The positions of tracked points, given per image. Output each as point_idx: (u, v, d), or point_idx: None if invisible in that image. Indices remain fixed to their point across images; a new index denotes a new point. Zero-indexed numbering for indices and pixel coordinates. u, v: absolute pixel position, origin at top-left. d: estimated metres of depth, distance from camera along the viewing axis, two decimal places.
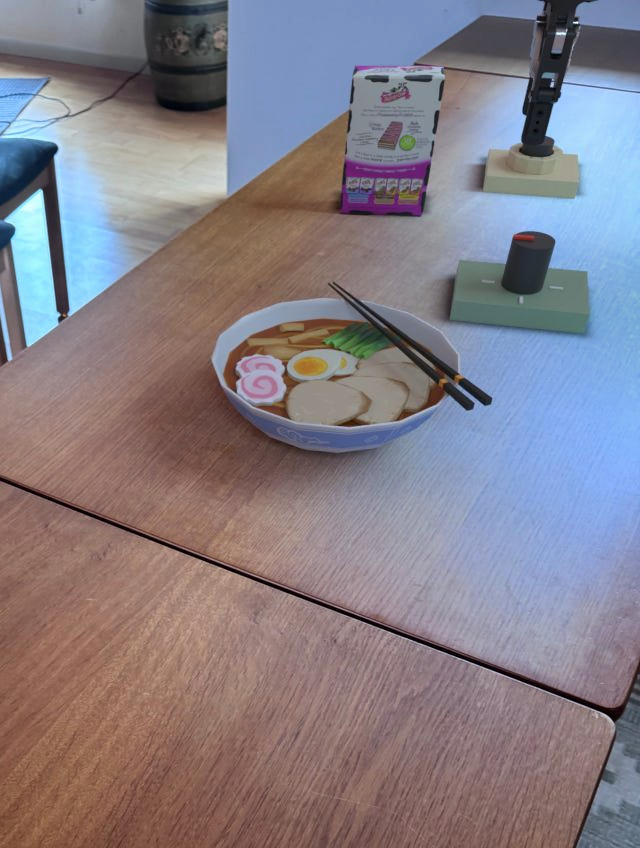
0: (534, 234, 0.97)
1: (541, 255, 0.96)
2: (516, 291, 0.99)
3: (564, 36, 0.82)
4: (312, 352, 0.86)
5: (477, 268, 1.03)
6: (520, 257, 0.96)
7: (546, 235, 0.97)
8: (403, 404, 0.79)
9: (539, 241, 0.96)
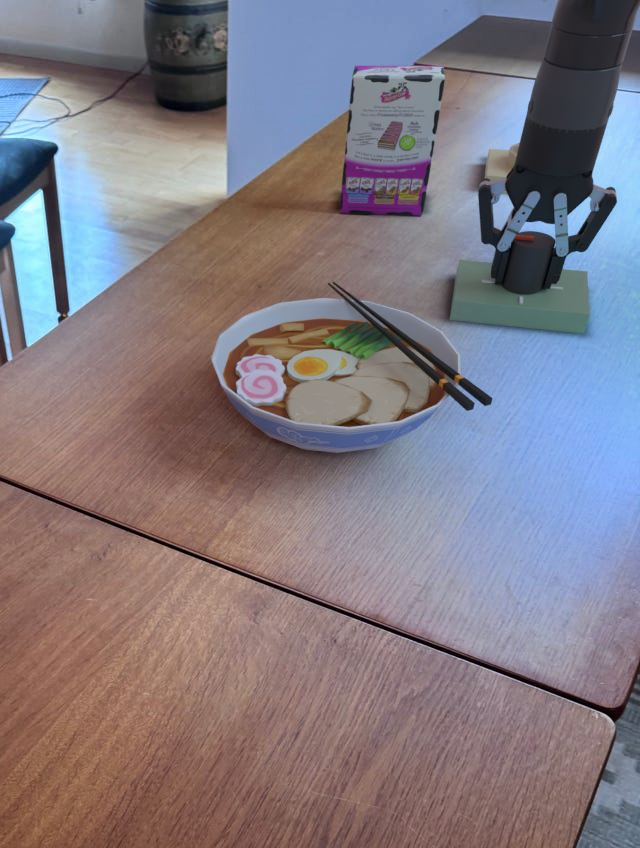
0: (534, 234, 0.97)
1: (541, 255, 0.96)
2: (516, 291, 0.99)
3: None
4: (312, 352, 0.86)
5: (477, 268, 1.03)
6: (520, 257, 0.96)
7: (546, 235, 0.97)
8: (403, 404, 0.79)
9: (539, 241, 0.96)
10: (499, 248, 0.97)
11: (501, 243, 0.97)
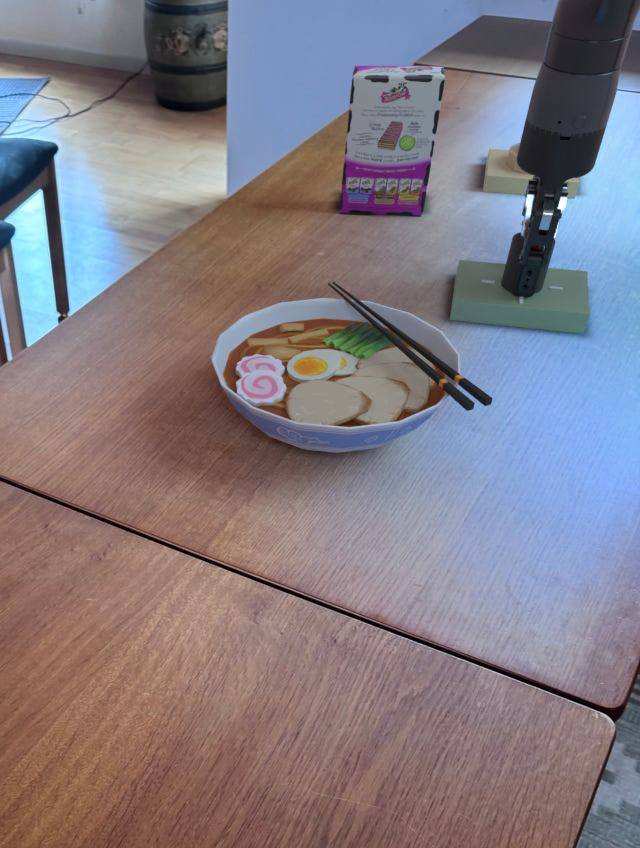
0: (520, 238, 0.97)
1: None
2: (542, 286, 0.99)
3: None
4: (312, 352, 0.86)
5: (477, 268, 1.03)
6: (550, 256, 0.96)
7: (520, 233, 0.98)
8: (403, 404, 0.79)
9: None
10: None
11: None
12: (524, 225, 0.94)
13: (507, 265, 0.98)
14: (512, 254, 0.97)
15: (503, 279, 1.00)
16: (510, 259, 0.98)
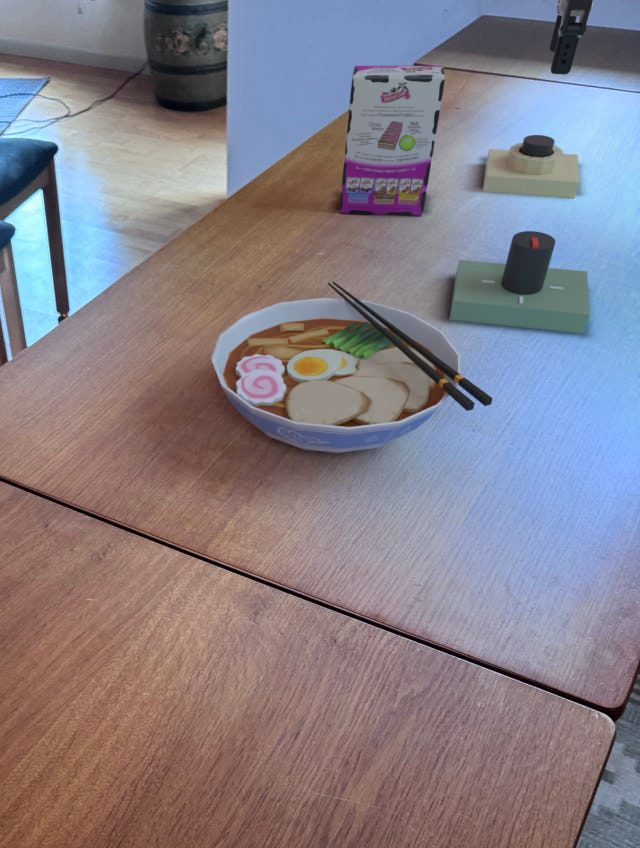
0: (520, 238, 0.97)
1: None
2: (542, 286, 0.99)
3: None
4: (312, 352, 0.86)
5: (477, 268, 1.03)
6: (550, 256, 0.96)
7: (520, 233, 0.98)
8: (403, 404, 0.79)
9: (536, 237, 0.97)
10: None
11: None
12: None
13: (507, 265, 0.98)
14: (512, 254, 0.97)
15: (503, 279, 1.00)
16: (510, 259, 0.98)
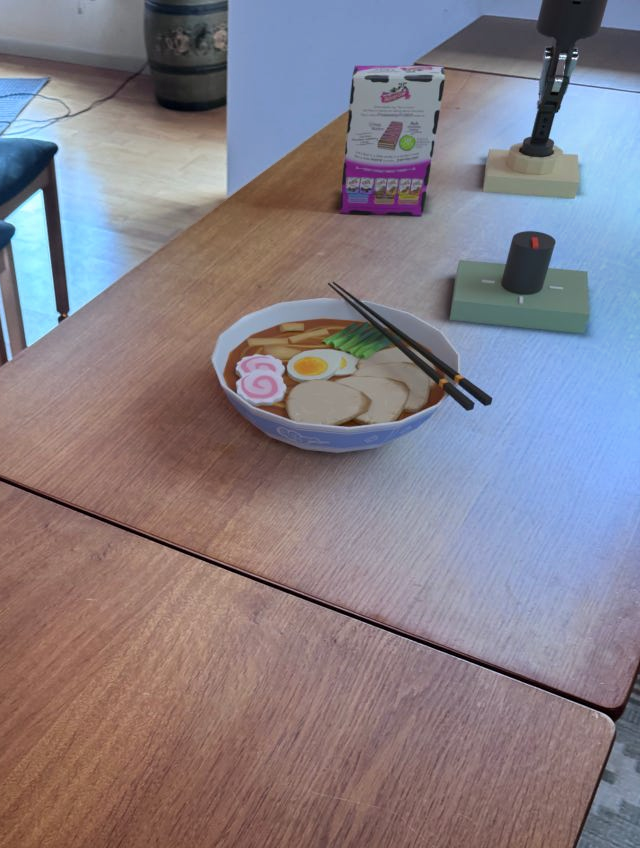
0: (520, 238, 0.97)
1: None
2: (542, 286, 0.99)
3: None
4: (312, 352, 0.86)
5: (477, 268, 1.03)
6: (550, 256, 0.96)
7: (520, 233, 0.98)
8: (403, 404, 0.79)
9: (536, 237, 0.97)
10: None
11: None
12: (541, 84, 1.17)
13: (507, 265, 0.98)
14: (512, 254, 0.97)
15: (503, 279, 1.00)
16: (510, 259, 0.98)
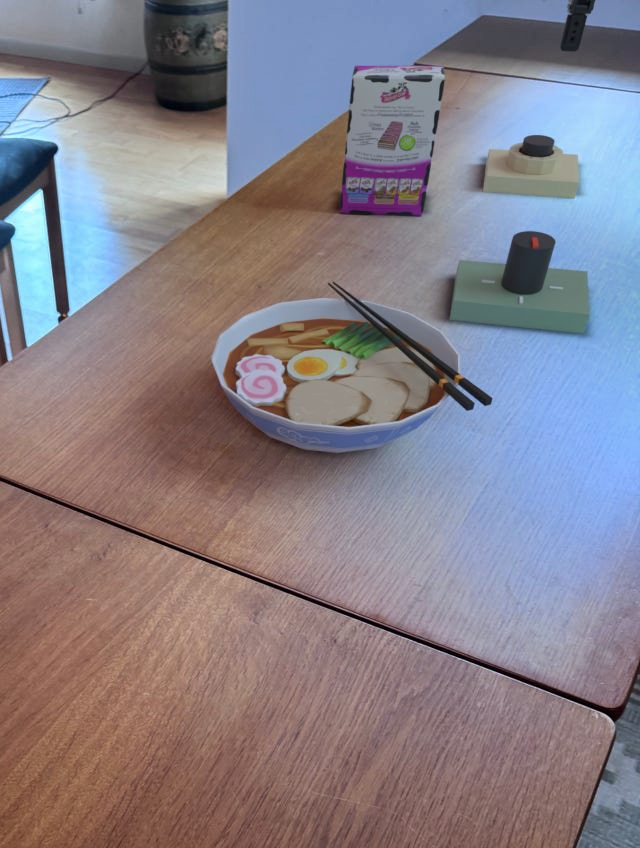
0: (520, 238, 0.97)
1: None
2: (542, 286, 0.99)
3: None
4: (312, 352, 0.86)
5: (477, 268, 1.03)
6: (550, 256, 0.96)
7: (520, 233, 0.98)
8: (403, 404, 0.79)
9: (536, 237, 0.97)
10: (589, 13, 1.10)
11: None
12: None
13: (507, 265, 0.98)
14: (512, 254, 0.97)
15: (503, 279, 1.00)
16: (510, 259, 0.98)
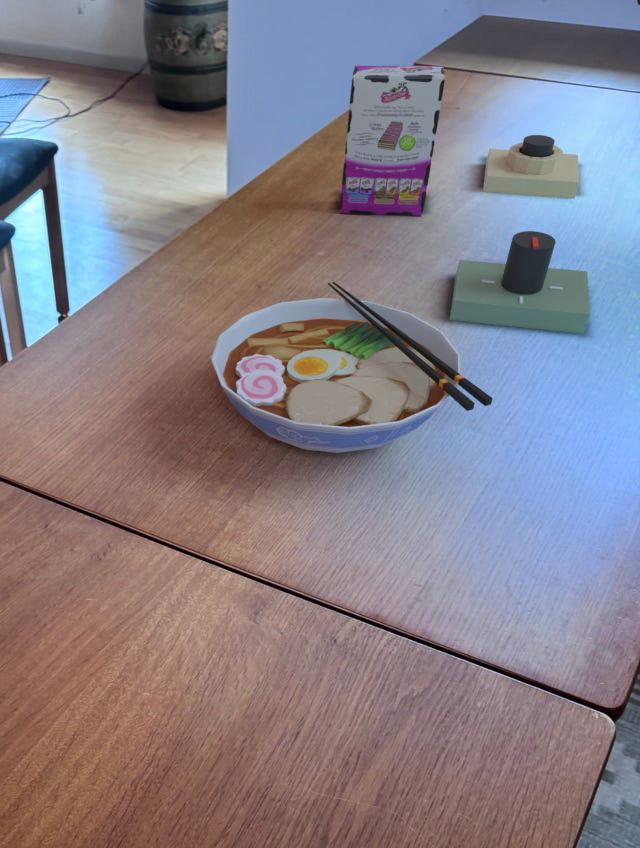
0: (520, 238, 0.97)
1: None
2: (542, 286, 0.99)
3: None
4: (312, 352, 0.86)
5: (477, 268, 1.03)
6: (550, 256, 0.96)
7: (520, 233, 0.98)
8: (403, 404, 0.79)
9: (536, 237, 0.97)
10: None
11: None
12: None
13: (507, 265, 0.98)
14: (512, 254, 0.97)
15: (503, 279, 1.00)
16: (510, 259, 0.98)
